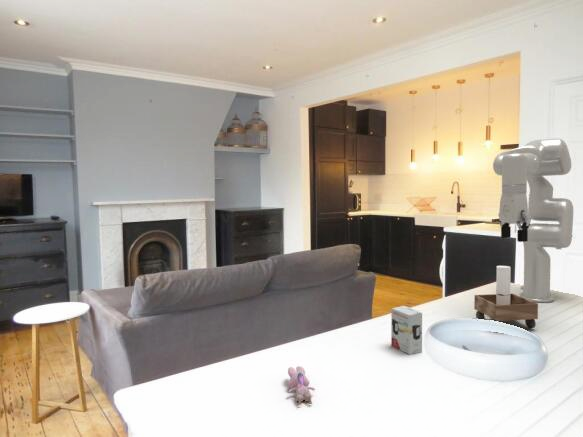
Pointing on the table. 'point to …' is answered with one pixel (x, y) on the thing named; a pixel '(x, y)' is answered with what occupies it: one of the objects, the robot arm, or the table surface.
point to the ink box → (406, 329)
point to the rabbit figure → (299, 384)
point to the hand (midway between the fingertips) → (513, 239)
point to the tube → (503, 285)
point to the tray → (506, 309)
